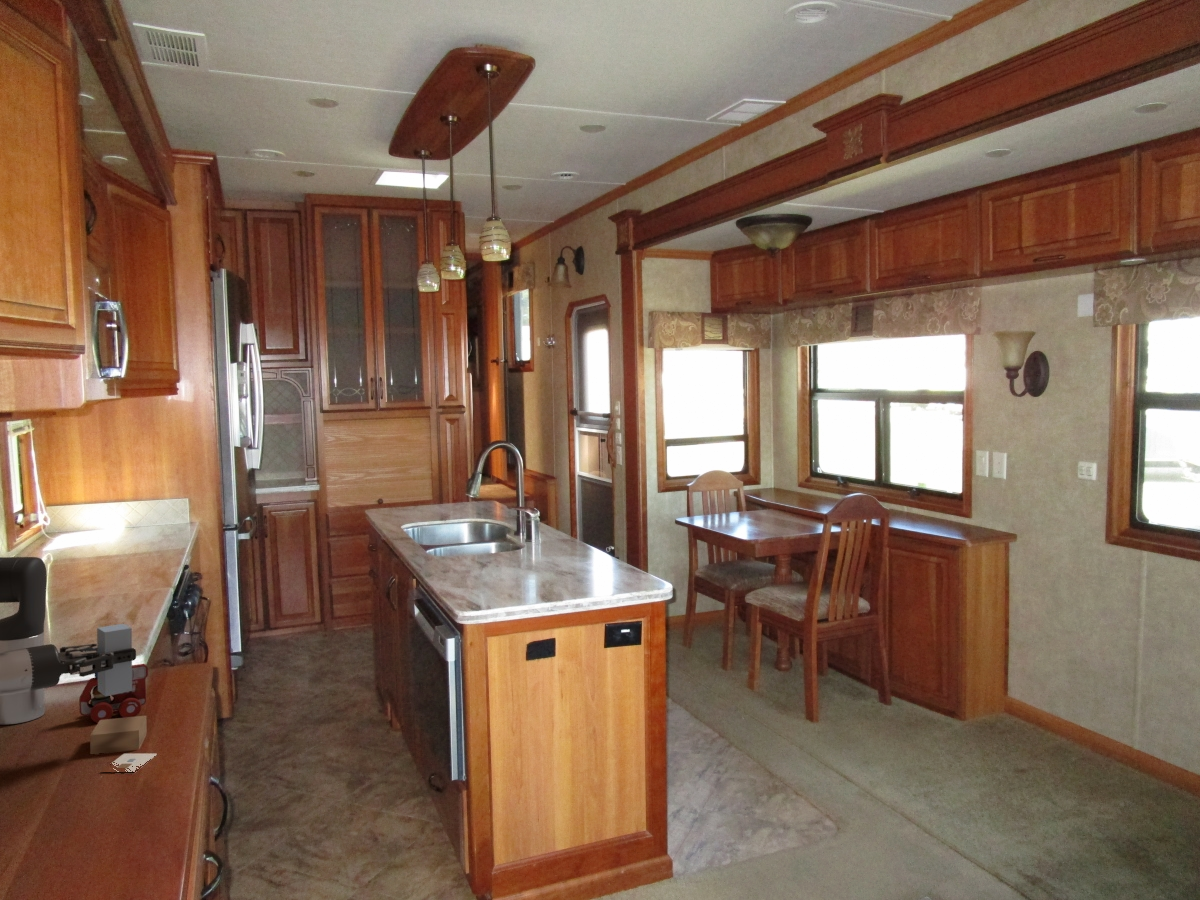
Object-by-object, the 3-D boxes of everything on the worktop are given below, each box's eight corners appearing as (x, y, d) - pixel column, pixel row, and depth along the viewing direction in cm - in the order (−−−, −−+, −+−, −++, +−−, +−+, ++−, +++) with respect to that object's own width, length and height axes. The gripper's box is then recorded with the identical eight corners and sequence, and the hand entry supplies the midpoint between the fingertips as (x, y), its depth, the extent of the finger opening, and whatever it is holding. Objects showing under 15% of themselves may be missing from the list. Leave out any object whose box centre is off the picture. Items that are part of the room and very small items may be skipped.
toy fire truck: (79, 716, 173) (78, 666, 173) (147, 705, 180) (146, 658, 179) (79, 727, 167) (78, 676, 167) (149, 715, 174) (148, 666, 174)
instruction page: (99, 773, 146) (99, 771, 146) (124, 754, 154) (124, 752, 154) (134, 773, 146) (134, 771, 146) (157, 754, 154) (156, 753, 154)
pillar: (105, 696, 154) (104, 632, 153) (97, 690, 157) (97, 627, 156) (132, 690, 157) (131, 628, 157) (124, 685, 160) (123, 623, 160)
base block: (90, 756, 154) (90, 735, 154) (100, 740, 161) (100, 720, 161) (139, 751, 157) (138, 730, 156) (146, 735, 164) (146, 715, 164)
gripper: (34, 657, 141) (143, 638, 154) (14, 641, 151) (118, 624, 164) (35, 701, 142) (144, 678, 154) (14, 681, 151) (118, 662, 164)
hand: (130, 651), depth 159 cm, fingers closed on pillar, 4 cm apart
